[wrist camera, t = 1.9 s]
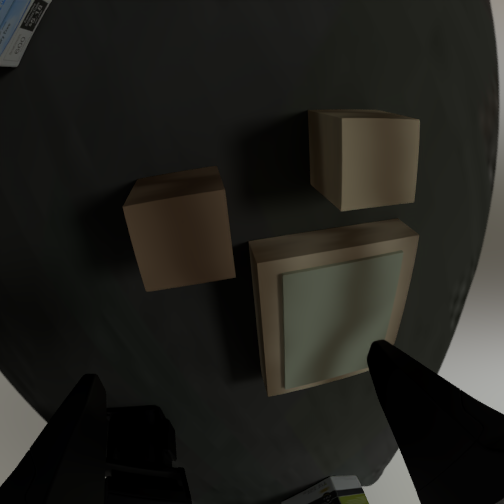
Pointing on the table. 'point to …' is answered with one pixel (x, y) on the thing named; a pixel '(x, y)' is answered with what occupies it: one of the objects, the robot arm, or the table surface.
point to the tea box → (332, 492)
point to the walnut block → (180, 228)
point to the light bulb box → (18, 27)
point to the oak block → (363, 157)
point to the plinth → (328, 300)
